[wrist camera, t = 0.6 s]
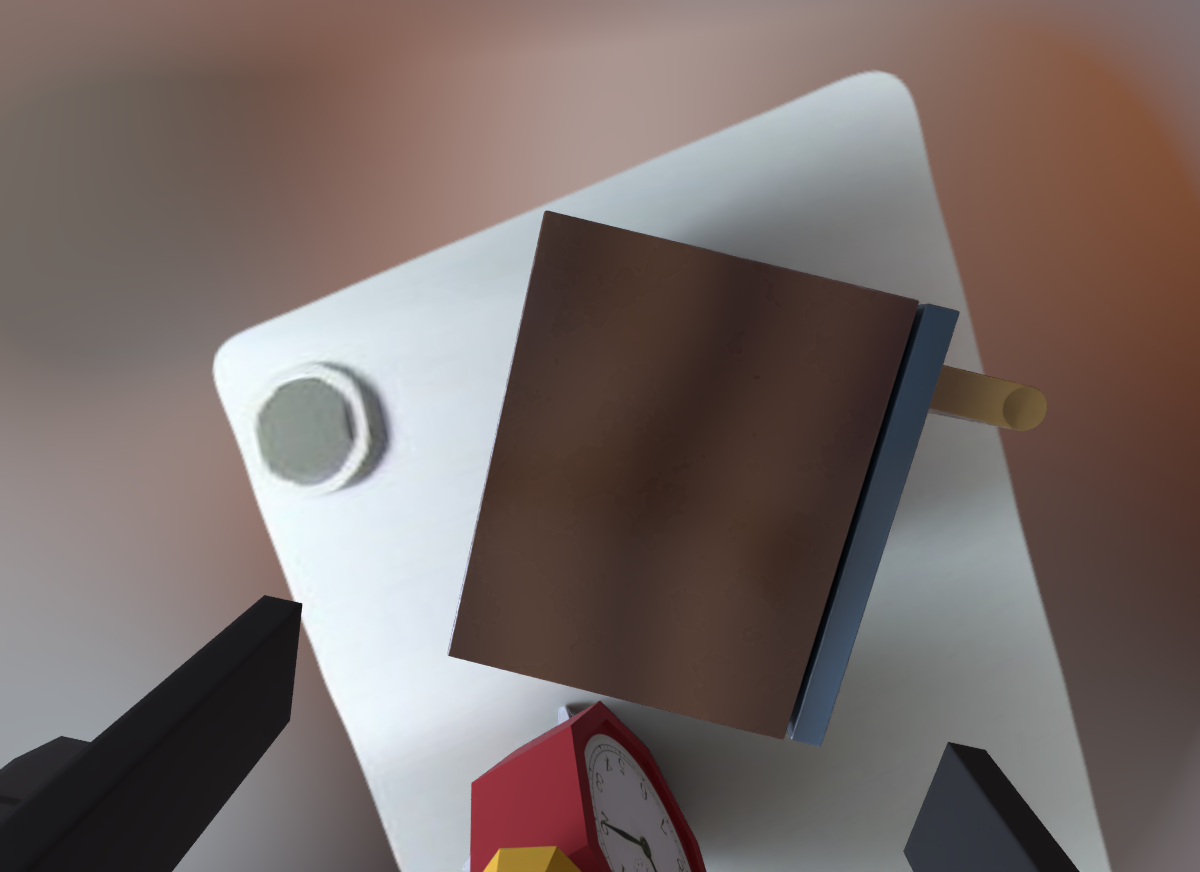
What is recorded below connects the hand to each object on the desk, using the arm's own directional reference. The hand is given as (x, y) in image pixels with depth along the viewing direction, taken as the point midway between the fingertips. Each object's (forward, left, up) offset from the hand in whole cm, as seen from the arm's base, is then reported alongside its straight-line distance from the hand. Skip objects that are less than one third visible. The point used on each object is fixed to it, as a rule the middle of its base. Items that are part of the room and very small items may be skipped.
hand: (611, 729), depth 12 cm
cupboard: (-4, +1, -24) cm, 24 cm away
